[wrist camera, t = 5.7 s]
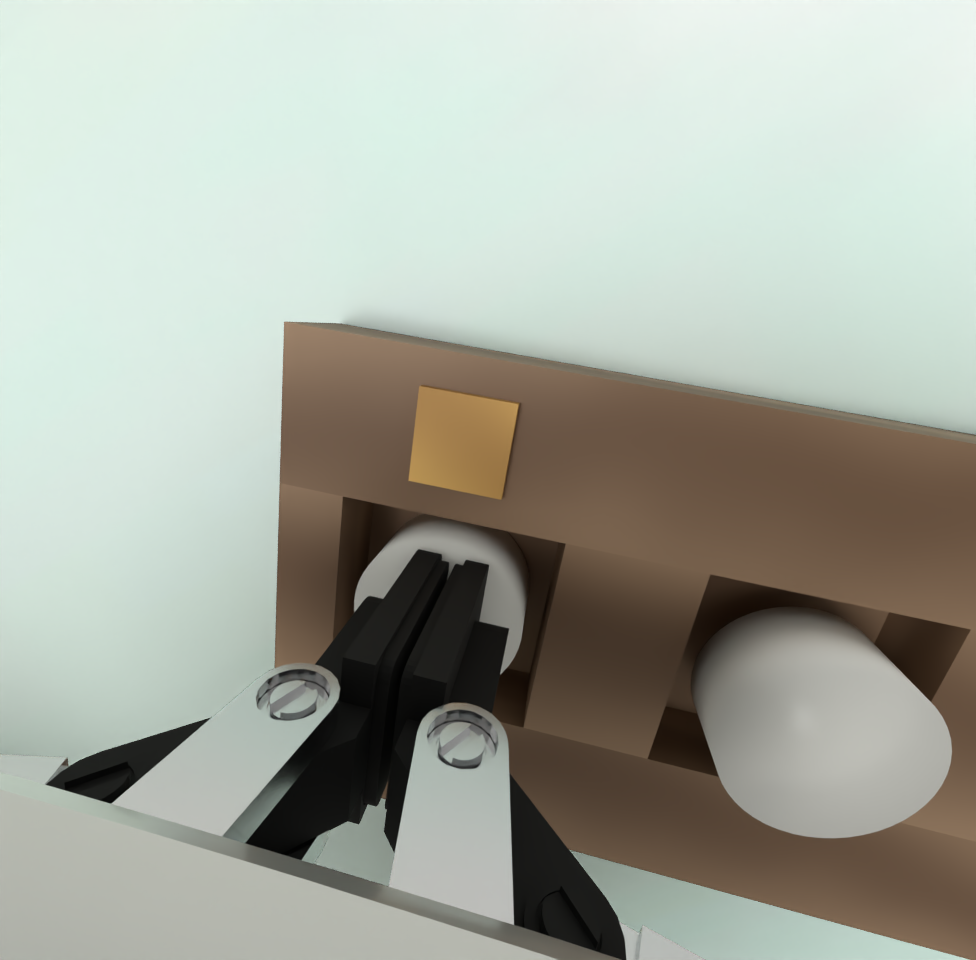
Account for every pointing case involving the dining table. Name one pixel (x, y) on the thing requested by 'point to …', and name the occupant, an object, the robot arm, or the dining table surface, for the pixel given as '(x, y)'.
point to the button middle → (816, 725)
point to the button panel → (652, 589)
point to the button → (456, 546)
